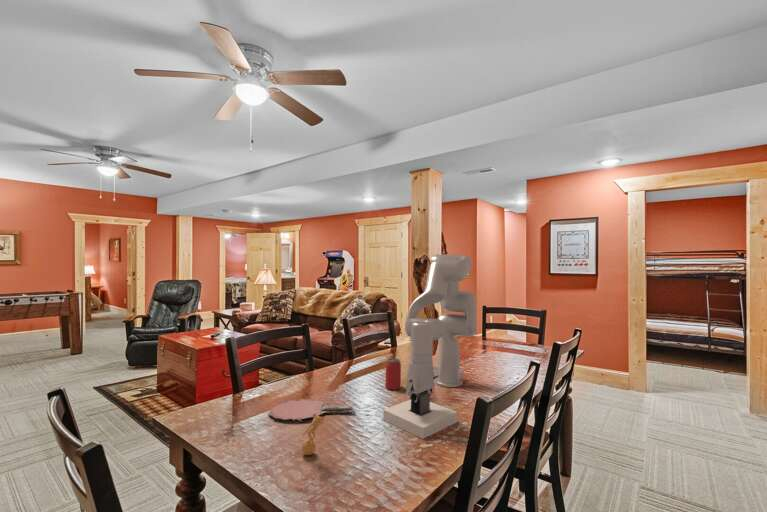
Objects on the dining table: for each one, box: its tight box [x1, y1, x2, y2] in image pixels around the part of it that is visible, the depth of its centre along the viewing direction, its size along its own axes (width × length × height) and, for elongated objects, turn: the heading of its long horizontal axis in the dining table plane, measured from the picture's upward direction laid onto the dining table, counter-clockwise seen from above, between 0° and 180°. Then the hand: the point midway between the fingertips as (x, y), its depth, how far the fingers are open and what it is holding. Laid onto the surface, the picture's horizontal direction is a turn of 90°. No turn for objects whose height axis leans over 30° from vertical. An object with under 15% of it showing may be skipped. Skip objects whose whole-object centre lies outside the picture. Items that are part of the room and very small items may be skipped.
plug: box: [411, 391, 431, 416], centre depth 126 cm, size 5×5×8 cm
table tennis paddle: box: [268, 398, 355, 424], centre depth 129 cm, size 18×29×3 cm, turn 74°
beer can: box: [384, 358, 402, 391], centre depth 158 cm, size 7×7×12 cm
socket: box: [382, 399, 458, 440], centre depth 126 cm, size 18×18×4 cm
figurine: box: [301, 413, 325, 456], centre depth 103 cm, size 8×6×12 cm
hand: (420, 409), depth 126 cm, fingers closed on plug, 4 cm apart
